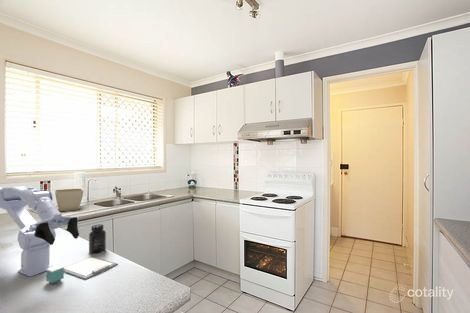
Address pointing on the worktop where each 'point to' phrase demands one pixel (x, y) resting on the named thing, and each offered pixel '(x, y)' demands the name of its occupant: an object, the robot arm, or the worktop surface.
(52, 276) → the teal-topped white block
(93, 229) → the supplement bottle
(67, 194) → the flower pot
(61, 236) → the worktop surface
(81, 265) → the clipboard
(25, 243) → the robot arm
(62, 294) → the worktop surface
